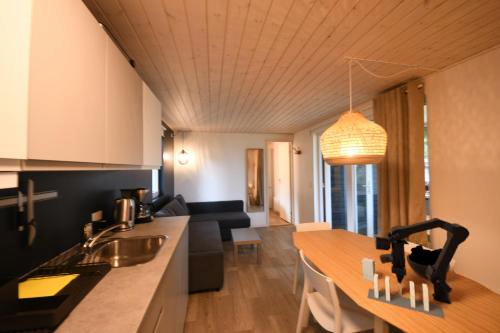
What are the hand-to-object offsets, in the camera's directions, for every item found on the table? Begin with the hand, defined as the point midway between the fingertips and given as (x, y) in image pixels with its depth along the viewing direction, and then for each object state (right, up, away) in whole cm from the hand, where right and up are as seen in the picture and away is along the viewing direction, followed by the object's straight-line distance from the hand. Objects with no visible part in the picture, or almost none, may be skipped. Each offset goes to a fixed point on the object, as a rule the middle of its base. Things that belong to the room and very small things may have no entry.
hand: (399, 280), depth 114 cm
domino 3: (0, -7, 0) cm, 6 cm away
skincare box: (-8, -7, +14) cm, 18 cm away
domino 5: (+3, -6, -13) cm, 15 cm away
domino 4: (-1, -6, -10) cm, 12 cm away
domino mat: (-4, -7, -8) cm, 11 cm away
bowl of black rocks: (+27, -6, +14) cm, 31 cm away
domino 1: (-13, -7, -2) cm, 15 cm away
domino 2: (-9, -6, -5) cm, 12 cm away
